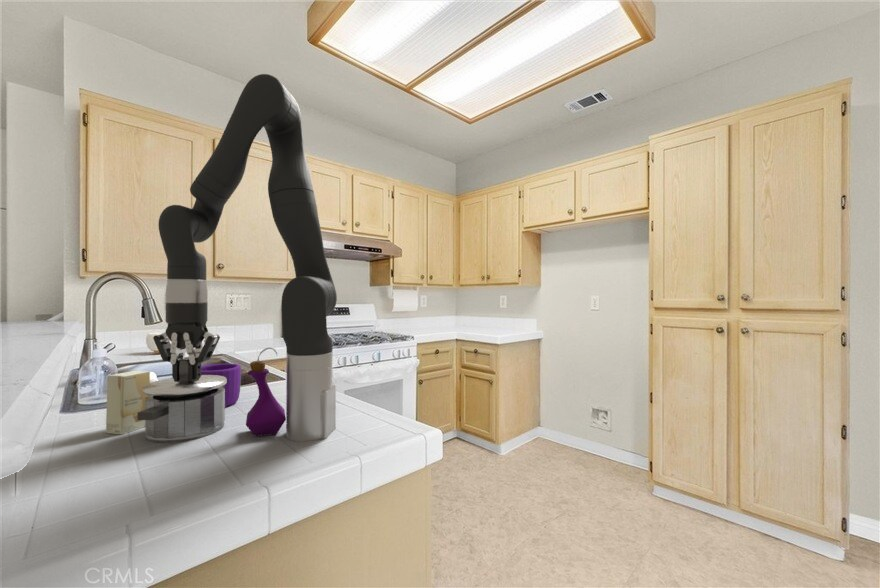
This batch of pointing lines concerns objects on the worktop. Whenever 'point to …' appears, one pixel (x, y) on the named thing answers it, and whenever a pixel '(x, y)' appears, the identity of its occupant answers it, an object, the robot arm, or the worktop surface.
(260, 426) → the perfume bottle
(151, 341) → the cup
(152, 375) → the garlic
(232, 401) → the mug
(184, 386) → the lid
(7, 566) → the worktop surface
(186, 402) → the pot
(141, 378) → the skincare box
